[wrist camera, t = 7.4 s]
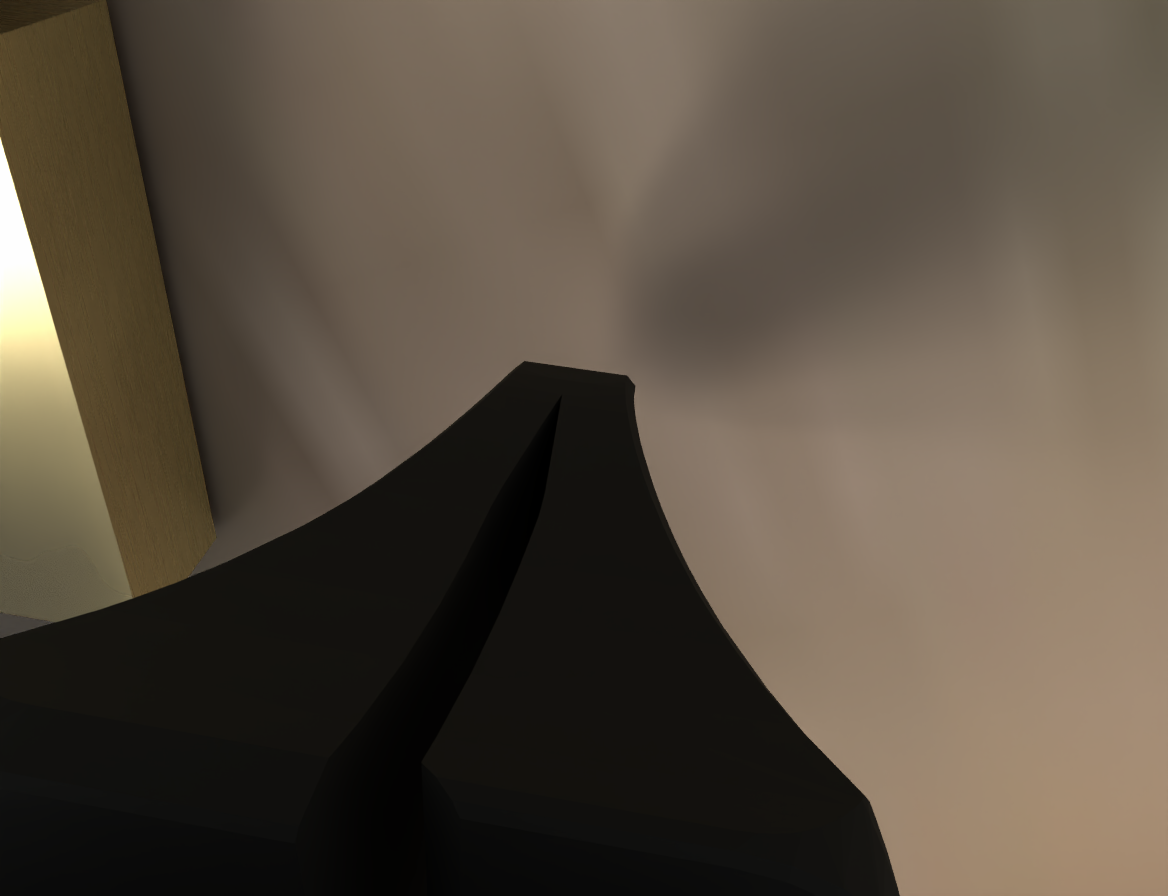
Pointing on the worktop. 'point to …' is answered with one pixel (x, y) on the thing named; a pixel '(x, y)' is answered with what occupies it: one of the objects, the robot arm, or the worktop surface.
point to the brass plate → (84, 336)
